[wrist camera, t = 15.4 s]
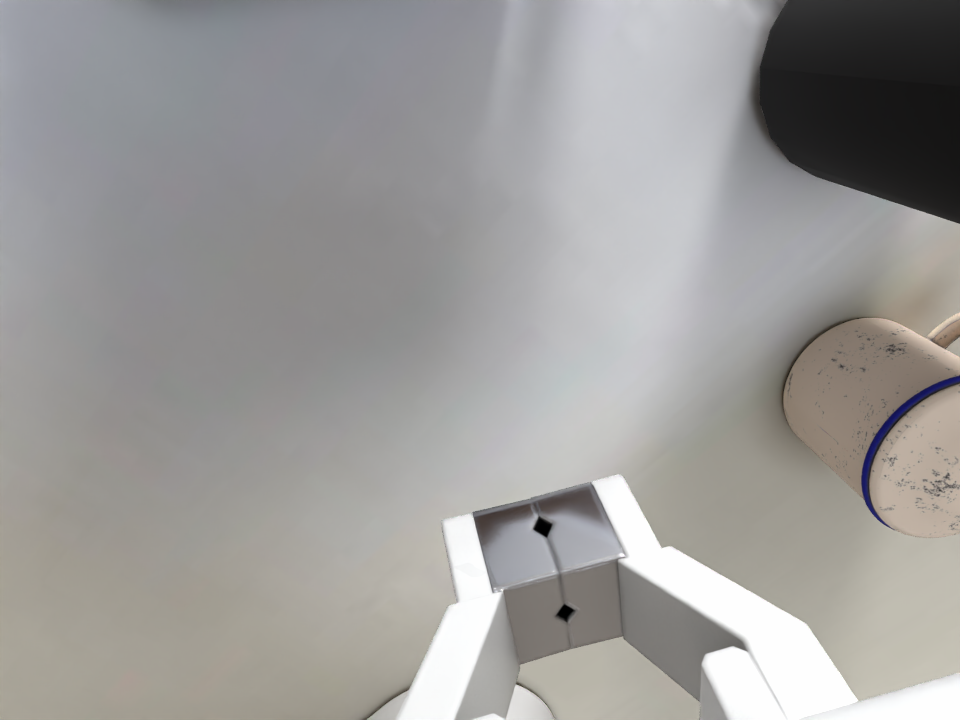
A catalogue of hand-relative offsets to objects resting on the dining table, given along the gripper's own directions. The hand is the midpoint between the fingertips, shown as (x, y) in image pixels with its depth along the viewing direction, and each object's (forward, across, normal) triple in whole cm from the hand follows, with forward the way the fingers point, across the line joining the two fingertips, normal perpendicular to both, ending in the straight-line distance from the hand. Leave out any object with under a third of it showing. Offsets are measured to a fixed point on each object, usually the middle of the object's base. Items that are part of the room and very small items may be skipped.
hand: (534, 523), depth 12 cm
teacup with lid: (+23, -24, +19) cm, 38 cm away
